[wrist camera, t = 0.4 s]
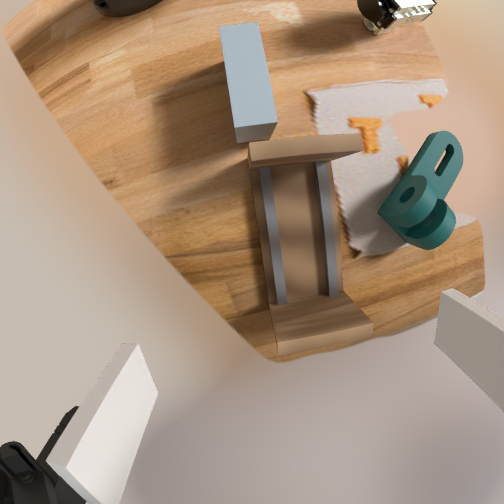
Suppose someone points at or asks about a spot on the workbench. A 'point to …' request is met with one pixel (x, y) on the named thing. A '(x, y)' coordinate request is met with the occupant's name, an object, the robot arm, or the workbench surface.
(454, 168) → the bracket
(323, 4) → the workbench surface
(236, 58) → the door panel
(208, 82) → the workbench surface
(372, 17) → the pneumatic valve
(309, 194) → the track
